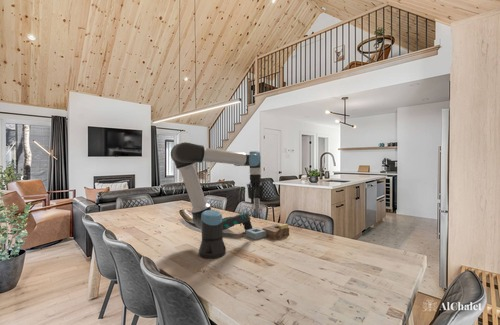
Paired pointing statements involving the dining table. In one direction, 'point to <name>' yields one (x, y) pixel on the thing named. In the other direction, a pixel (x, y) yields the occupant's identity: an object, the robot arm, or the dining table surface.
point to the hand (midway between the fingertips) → (255, 208)
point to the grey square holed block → (256, 233)
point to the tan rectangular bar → (283, 226)
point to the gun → (237, 221)
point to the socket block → (276, 232)
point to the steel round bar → (255, 208)
